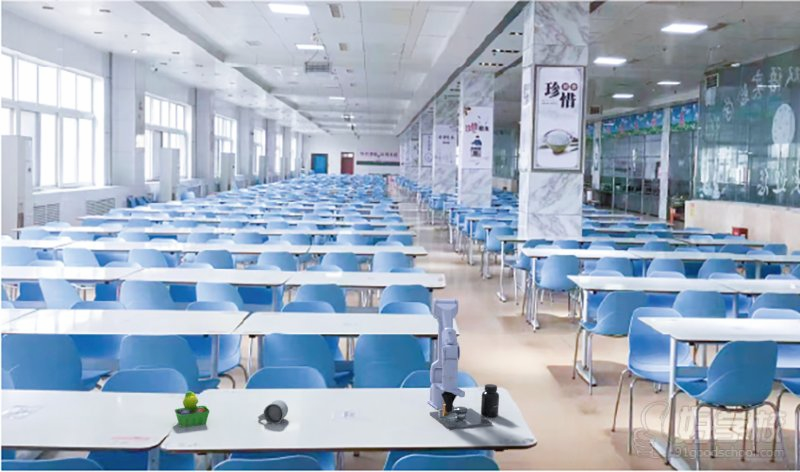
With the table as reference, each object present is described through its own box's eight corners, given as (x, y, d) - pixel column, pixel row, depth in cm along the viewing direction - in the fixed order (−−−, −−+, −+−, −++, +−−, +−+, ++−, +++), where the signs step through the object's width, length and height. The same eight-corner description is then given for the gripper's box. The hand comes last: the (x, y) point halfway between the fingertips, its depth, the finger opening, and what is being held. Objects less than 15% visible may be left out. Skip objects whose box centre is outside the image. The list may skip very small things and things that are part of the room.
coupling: (461, 409, 302) (462, 399, 302) (469, 413, 298) (469, 403, 298) (439, 413, 297) (439, 403, 296) (446, 417, 293) (447, 406, 292)
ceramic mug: (289, 418, 295) (289, 398, 294) (283, 425, 287) (283, 404, 286) (261, 416, 296) (261, 396, 296) (255, 423, 288) (255, 403, 288)
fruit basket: (178, 428, 279) (178, 398, 278) (173, 421, 287) (173, 391, 286) (210, 425, 285) (210, 394, 284) (204, 417, 293) (204, 388, 291)
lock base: (429, 414, 304) (430, 404, 304) (471, 410, 311) (471, 401, 311) (448, 429, 288) (449, 419, 287) (492, 425, 294) (492, 415, 294)
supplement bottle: (497, 419, 302) (498, 388, 301) (479, 417, 303) (481, 387, 302) (498, 413, 309) (500, 384, 307) (481, 411, 310) (482, 382, 309)
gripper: (428, 373, 296) (427, 408, 297) (455, 382, 285) (454, 418, 286) (442, 370, 300) (441, 405, 301) (469, 379, 289) (468, 414, 290)
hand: (448, 411), depth 294 cm, fingers closed, pressing on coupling
